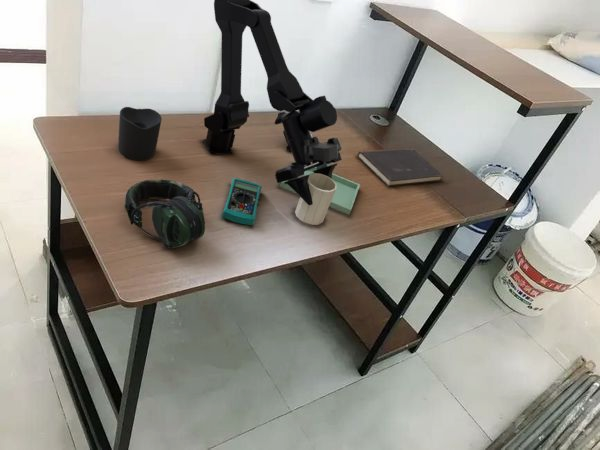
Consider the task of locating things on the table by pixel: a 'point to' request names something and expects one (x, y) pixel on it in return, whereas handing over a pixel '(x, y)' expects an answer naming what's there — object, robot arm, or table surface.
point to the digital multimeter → (242, 202)
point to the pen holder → (138, 132)
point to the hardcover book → (399, 167)
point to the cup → (316, 199)
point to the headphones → (167, 210)
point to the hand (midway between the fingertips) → (320, 200)
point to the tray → (337, 192)
